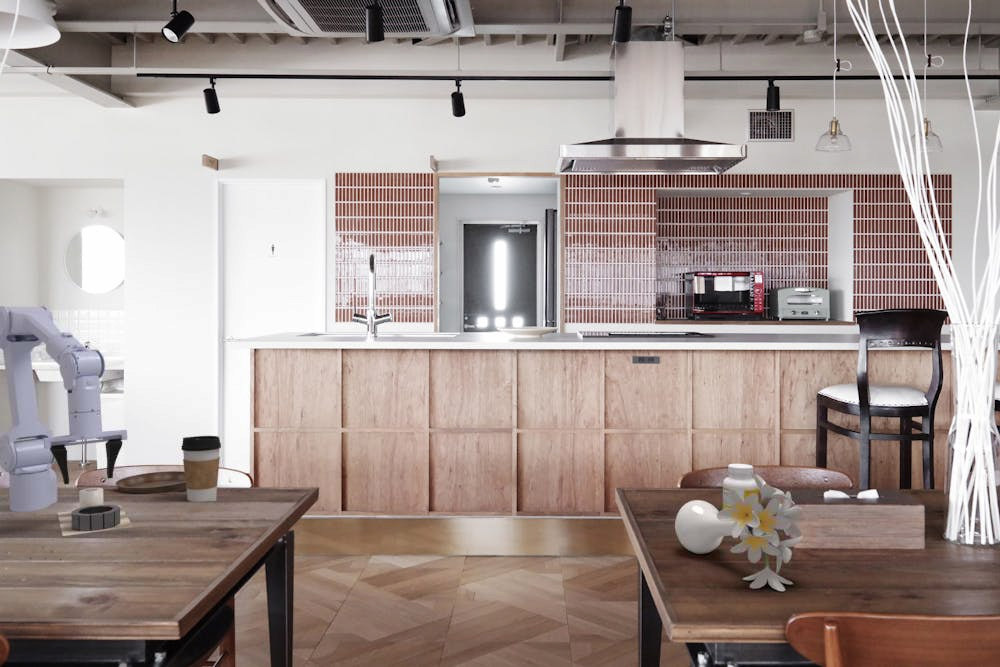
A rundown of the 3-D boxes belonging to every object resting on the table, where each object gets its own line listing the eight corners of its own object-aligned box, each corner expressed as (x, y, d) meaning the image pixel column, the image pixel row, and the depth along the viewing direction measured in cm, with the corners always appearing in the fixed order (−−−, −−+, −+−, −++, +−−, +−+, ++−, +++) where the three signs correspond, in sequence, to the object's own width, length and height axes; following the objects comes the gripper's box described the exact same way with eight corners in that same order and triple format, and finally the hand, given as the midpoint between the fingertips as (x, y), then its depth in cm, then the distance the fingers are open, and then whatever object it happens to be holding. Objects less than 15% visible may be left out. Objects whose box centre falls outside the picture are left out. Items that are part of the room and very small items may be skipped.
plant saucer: (107, 501, 179) (107, 488, 179) (124, 485, 196) (124, 472, 196) (190, 497, 183) (190, 484, 183) (199, 481, 200) (199, 469, 200)
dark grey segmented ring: (86, 519, 159) (85, 504, 159) (127, 519, 159) (127, 504, 159) (62, 531, 150) (62, 515, 150) (106, 531, 150) (106, 515, 150)
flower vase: (678, 592, 139) (771, 602, 117) (647, 490, 142) (732, 480, 119) (735, 569, 144) (835, 574, 122) (704, 471, 147) (796, 458, 124)
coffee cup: (173, 505, 174) (172, 438, 174) (201, 497, 182) (200, 432, 182) (203, 508, 171) (202, 440, 171) (230, 500, 179) (229, 434, 179)
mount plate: (57, 517, 164) (57, 512, 164) (120, 509, 170) (120, 505, 170) (62, 541, 147) (62, 535, 147) (133, 531, 153) (133, 526, 153)
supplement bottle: (760, 528, 155) (760, 464, 155) (756, 537, 149) (756, 470, 149) (725, 524, 158) (726, 461, 158) (720, 533, 152) (720, 467, 152)
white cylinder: (86, 511, 165) (86, 487, 165) (107, 511, 165) (107, 487, 165) (75, 516, 161) (74, 492, 161) (96, 516, 161) (96, 492, 161)
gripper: (44, 416, 148) (48, 488, 147) (128, 408, 156) (132, 477, 156) (40, 414, 153) (44, 484, 153) (122, 407, 162) (125, 473, 162)
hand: (88, 480), depth 155 cm, fingers open, 7 cm apart
